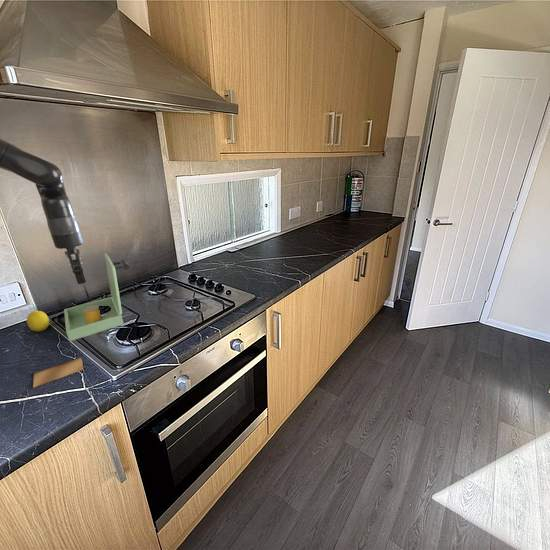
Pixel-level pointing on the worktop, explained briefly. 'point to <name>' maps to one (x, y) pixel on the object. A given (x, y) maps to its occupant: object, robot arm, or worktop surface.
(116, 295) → the lid
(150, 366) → the worktop surface
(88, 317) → the pod
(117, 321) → the box
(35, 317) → the lemon
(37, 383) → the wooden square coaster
